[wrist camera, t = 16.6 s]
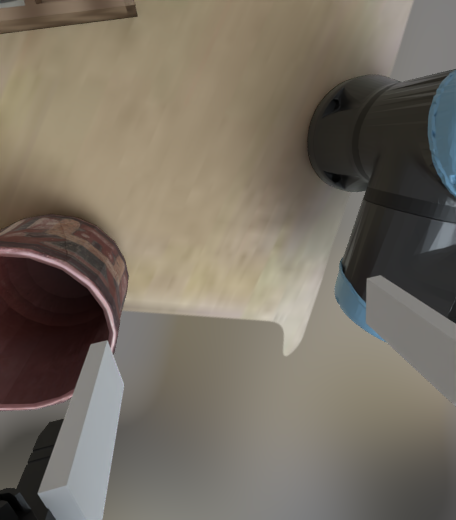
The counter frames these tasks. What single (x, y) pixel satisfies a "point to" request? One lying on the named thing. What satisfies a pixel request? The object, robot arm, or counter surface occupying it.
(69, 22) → the walnut crate
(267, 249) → the counter surface
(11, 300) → the pottery
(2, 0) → the coffee box
